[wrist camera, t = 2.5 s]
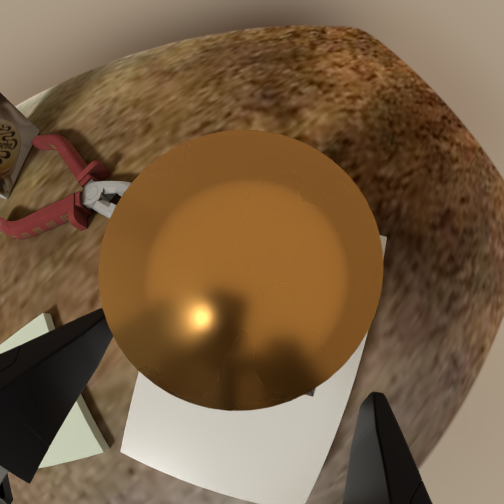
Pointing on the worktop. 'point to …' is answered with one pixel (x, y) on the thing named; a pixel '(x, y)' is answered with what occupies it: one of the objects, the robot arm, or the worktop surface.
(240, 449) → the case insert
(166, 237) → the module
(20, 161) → the coffee box
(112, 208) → the pliers
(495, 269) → the worktop surface
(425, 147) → the worktop surface
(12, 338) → the mat
